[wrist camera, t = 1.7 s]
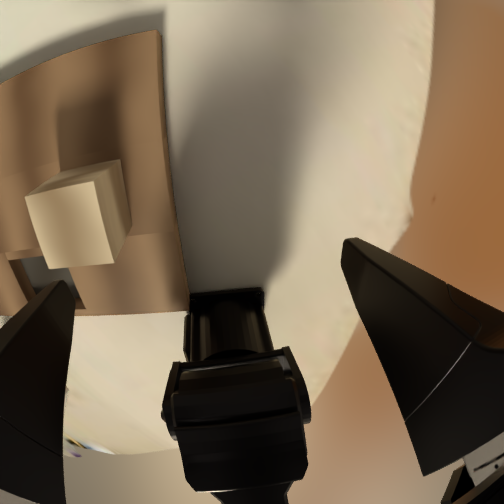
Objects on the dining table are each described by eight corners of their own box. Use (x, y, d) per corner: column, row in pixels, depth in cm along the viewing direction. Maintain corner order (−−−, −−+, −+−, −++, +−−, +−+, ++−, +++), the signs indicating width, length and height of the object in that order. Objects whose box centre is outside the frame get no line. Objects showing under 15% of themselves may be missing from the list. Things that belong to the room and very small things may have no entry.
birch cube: (120, 159, 15) (93, 180, 11) (132, 225, 17) (114, 263, 14) (60, 171, 14) (24, 196, 11) (75, 232, 17) (49, 269, 13)
